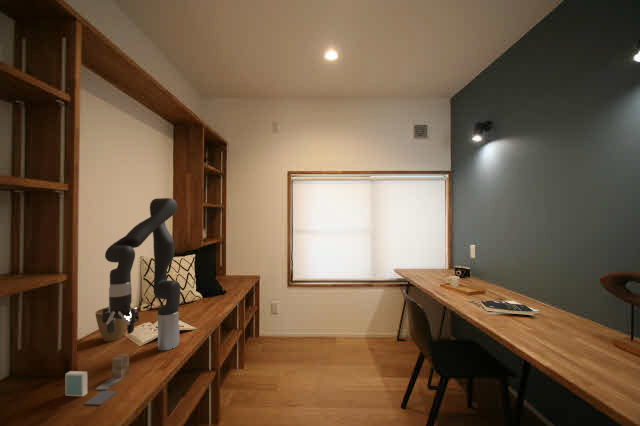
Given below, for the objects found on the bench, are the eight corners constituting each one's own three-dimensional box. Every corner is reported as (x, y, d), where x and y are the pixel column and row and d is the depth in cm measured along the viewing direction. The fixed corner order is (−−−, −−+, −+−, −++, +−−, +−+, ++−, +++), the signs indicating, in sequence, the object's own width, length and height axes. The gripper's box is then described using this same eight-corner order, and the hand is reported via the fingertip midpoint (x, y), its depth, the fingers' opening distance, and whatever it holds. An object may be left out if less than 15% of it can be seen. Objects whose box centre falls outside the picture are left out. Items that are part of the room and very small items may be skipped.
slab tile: (70, 392, 102) (70, 371, 102) (87, 393, 101) (87, 371, 101) (65, 395, 100) (65, 374, 100) (82, 396, 99) (82, 374, 99)
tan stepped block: (119, 373, 114) (119, 354, 114) (129, 373, 114) (129, 354, 114) (95, 389, 103) (95, 368, 103) (106, 390, 103) (106, 369, 103)
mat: (102, 391, 102) (102, 390, 102) (117, 392, 101) (117, 391, 101) (84, 404, 95) (84, 403, 95) (100, 405, 94) (100, 404, 94)
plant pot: (130, 339, 147) (130, 309, 147) (95, 347, 137) (95, 316, 138) (128, 330, 158) (128, 303, 159) (95, 337, 149) (95, 308, 149)
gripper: (143, 291, 115) (143, 329, 115) (112, 291, 117) (112, 328, 116) (129, 296, 108) (129, 337, 108) (96, 296, 109) (96, 336, 109)
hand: (120, 332), depth 112 cm, fingers open, 8 cm apart
